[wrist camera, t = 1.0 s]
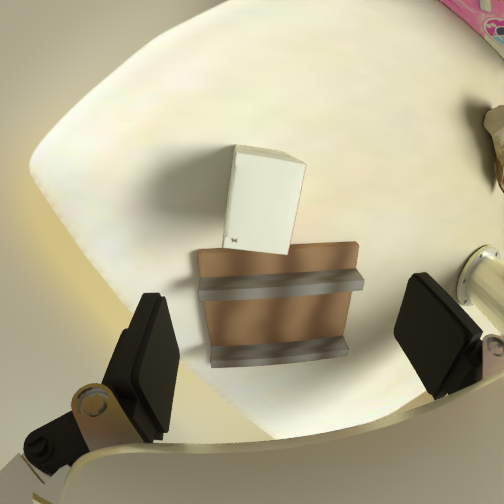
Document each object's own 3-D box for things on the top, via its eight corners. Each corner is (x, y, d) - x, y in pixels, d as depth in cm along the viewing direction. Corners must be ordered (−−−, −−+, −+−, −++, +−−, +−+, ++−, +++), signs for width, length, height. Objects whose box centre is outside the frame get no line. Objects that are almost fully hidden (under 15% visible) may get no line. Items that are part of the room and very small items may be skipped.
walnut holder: (355, 241, 35) (368, 255, 31) (335, 351, 44) (342, 369, 40) (198, 249, 34) (194, 265, 30) (215, 361, 43) (214, 381, 39)
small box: (272, 217, 33) (288, 258, 24) (224, 211, 32) (221, 250, 23) (285, 150, 30) (309, 163, 20) (234, 142, 29) (234, 151, 19)
